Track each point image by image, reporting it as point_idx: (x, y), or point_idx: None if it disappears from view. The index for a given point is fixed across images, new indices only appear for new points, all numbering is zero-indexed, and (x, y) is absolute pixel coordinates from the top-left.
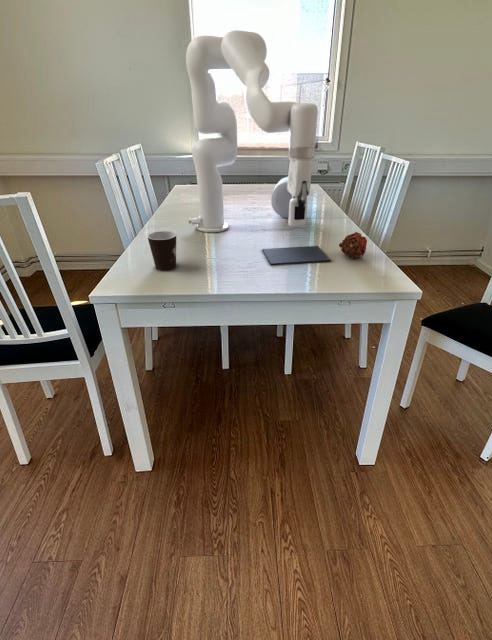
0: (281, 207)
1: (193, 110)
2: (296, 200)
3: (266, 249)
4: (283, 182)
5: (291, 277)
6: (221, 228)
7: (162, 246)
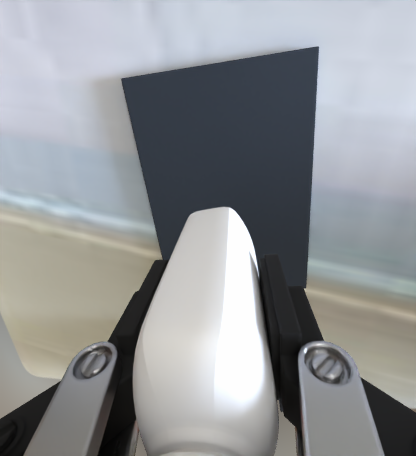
0: None
1: None
2: (81, 414)
3: (304, 70)
4: None
5: (26, 151)
6: None
7: None
